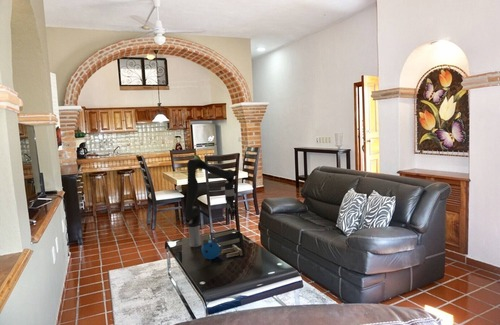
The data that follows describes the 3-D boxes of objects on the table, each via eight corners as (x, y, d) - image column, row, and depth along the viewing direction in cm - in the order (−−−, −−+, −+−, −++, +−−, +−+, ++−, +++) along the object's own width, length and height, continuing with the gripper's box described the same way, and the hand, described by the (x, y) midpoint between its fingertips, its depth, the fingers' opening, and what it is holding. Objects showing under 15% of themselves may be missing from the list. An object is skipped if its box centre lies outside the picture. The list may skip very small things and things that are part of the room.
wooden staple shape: (220, 252, 283) (220, 247, 282) (234, 249, 288) (234, 244, 287) (227, 258, 268) (227, 253, 268) (242, 255, 273) (241, 250, 273)
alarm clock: (218, 255, 276) (217, 236, 275) (220, 258, 271) (219, 238, 269) (202, 258, 272) (200, 239, 271) (203, 261, 266) (201, 241, 265)
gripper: (222, 194, 288) (224, 214, 290) (228, 196, 275) (230, 217, 277) (231, 193, 291) (232, 212, 293) (237, 195, 278) (239, 216, 280)
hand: (231, 215), depth 285 cm, fingers open, 7 cm apart
